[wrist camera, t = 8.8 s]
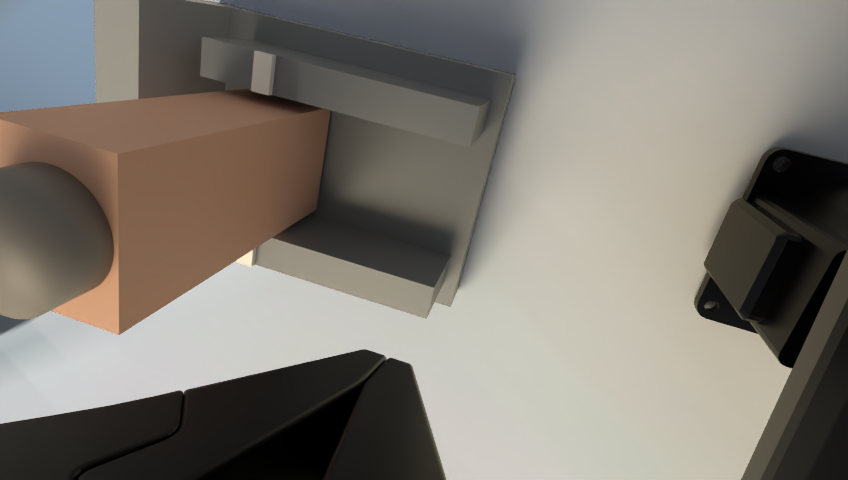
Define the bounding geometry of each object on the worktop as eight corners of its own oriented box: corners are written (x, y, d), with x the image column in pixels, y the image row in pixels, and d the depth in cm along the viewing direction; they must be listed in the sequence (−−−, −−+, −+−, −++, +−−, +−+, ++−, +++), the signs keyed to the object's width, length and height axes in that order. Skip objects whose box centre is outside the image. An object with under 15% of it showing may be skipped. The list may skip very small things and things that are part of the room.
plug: (331, 107, 19) (61, 166, 8) (316, 209, 20) (70, 365, 10) (256, 87, 19) (-88, 121, 9) (247, 189, 21) (-58, 318, 10)
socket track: (515, 74, 19) (500, 81, 13) (456, 291, 22) (424, 369, 16) (218, 2, 20) (93, -19, 15) (205, 214, 24) (99, 261, 18)
